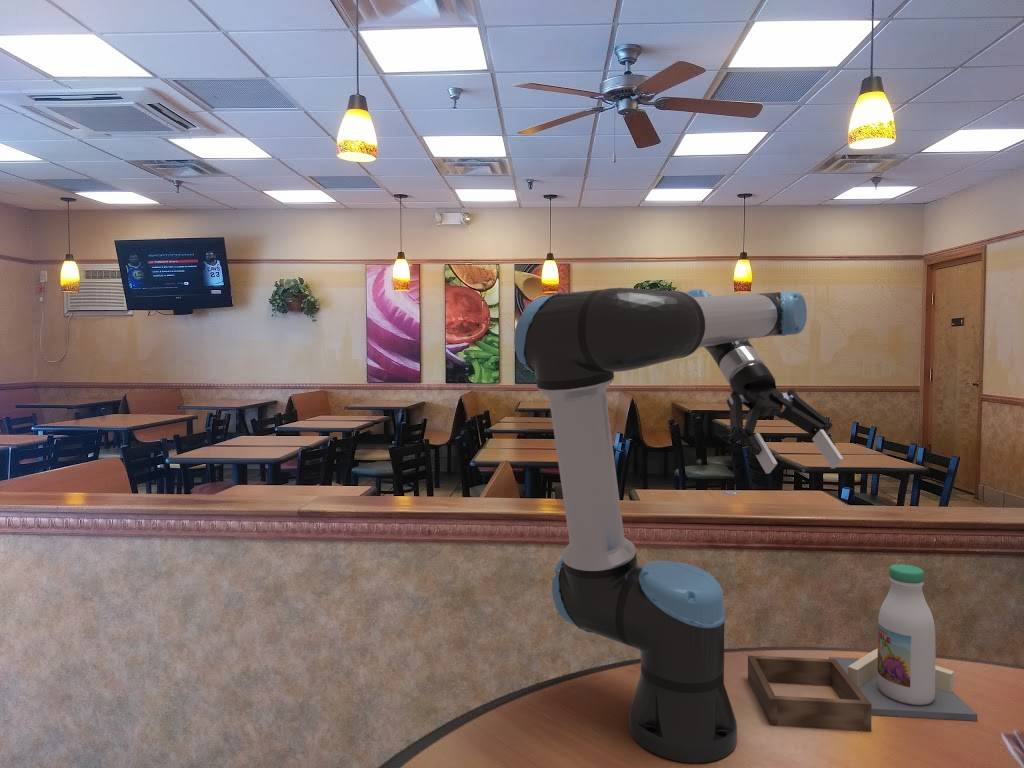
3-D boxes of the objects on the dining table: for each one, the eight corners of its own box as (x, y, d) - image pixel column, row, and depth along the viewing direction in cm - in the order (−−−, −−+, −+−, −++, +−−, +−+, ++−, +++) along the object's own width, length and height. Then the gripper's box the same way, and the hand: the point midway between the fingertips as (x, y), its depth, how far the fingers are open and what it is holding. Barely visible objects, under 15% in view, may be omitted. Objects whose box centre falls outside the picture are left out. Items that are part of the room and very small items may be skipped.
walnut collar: (769, 725, 94) (769, 698, 94) (747, 678, 108) (747, 655, 108) (871, 731, 93) (871, 704, 92) (835, 683, 106) (835, 659, 106)
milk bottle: (918, 681, 104) (919, 560, 104) (946, 707, 97) (947, 576, 96) (868, 680, 105) (869, 559, 104) (892, 706, 97) (892, 576, 97)
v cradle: (866, 714, 97) (866, 688, 97) (826, 662, 114) (826, 640, 114) (980, 721, 95) (980, 694, 95) (922, 666, 112) (922, 644, 112)
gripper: (791, 387, 129) (851, 474, 115) (682, 390, 121) (732, 483, 108) (811, 361, 124) (876, 448, 110) (699, 362, 116) (753, 456, 102)
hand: (805, 466), depth 109 cm, fingers open, 13 cm apart
